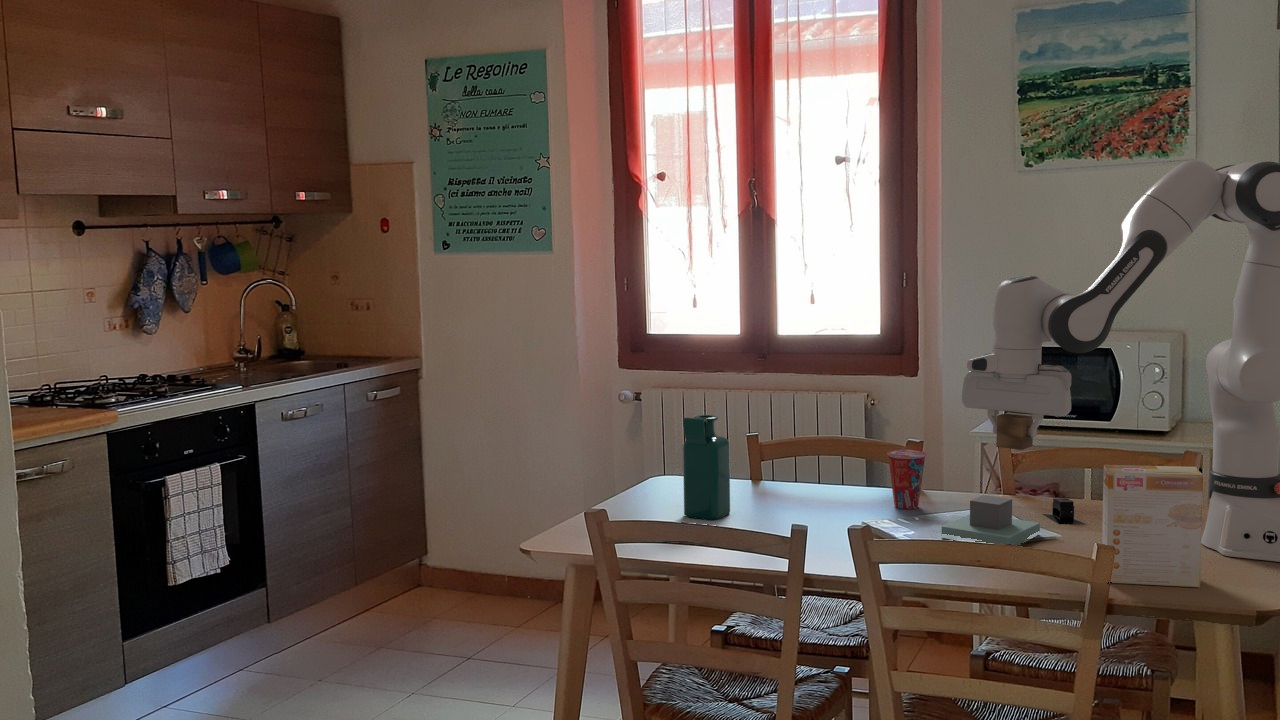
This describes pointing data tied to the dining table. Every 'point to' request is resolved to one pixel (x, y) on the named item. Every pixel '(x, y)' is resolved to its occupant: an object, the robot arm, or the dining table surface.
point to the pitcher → (705, 470)
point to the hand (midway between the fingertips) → (1014, 435)
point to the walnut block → (1013, 431)
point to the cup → (906, 477)
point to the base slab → (992, 531)
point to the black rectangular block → (1063, 512)
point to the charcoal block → (991, 512)
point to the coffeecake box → (1154, 523)
